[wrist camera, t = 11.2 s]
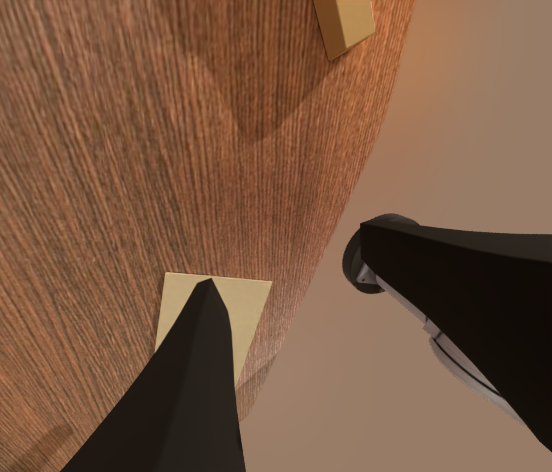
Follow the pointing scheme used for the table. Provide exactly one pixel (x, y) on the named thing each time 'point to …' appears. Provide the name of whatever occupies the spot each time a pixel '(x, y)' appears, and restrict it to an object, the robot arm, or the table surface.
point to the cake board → (237, 298)
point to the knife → (344, 24)
